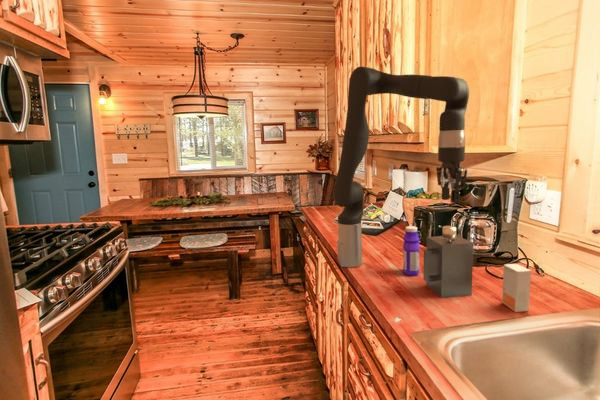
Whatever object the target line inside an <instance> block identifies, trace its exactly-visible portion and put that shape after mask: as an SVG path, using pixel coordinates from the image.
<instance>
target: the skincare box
mask: <svg viewBox="0 0 600 400" xmlns="http://www.w3.org/2000/svg"><path fill="white" fill-rule="evenodd" d="M502 276H503V277H502V278H503V279H502V297H501V303H502V304H503V305H505V306H507V308H509V309H510V310H512V311H514V312H515V313H521V312H529V311H530V298H531V297H530V296H531V279H532V270H531V269H529V268H526V267H525V266H523V265H521V264H518V263H506V264H503V274H502Z"/></svg>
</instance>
